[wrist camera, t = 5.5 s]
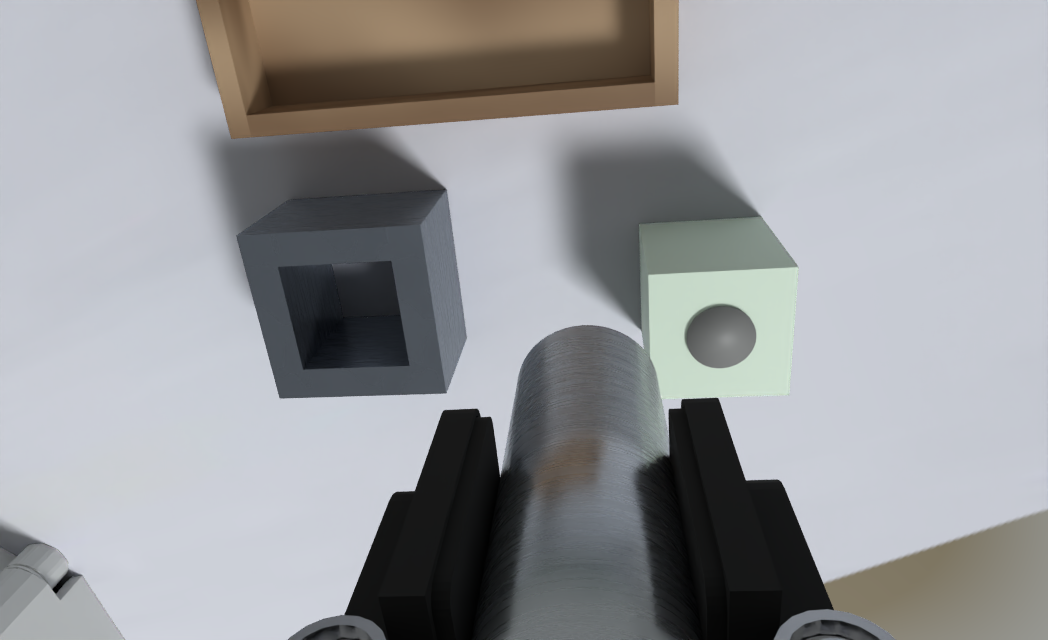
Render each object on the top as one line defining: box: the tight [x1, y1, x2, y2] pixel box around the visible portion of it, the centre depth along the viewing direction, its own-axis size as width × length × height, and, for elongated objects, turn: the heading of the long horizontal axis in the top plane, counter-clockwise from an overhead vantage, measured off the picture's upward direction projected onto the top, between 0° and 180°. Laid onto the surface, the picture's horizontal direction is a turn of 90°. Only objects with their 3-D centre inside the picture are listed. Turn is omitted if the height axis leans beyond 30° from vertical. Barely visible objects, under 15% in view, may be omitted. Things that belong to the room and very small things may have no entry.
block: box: [237, 190, 467, 398], centre depth 30 cm, size 7×7×5 cm
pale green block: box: [639, 217, 799, 399], centre depth 28 cm, size 5×5×6 cm
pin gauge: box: [471, 325, 703, 640], centre depth 10 cm, size 3×3×10 cm
